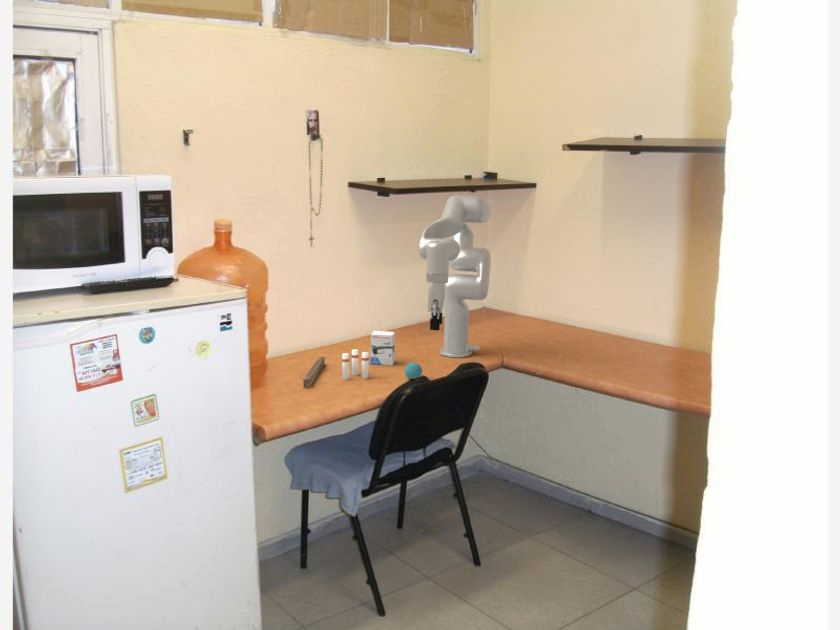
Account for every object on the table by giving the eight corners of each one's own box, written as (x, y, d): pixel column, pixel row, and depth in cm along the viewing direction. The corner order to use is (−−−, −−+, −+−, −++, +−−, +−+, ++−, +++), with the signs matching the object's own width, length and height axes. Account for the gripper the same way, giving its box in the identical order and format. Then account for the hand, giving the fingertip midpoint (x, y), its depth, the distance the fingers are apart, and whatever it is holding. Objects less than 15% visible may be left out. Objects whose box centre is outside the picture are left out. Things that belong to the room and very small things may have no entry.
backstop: (324, 364, 296) (324, 356, 295) (309, 387, 269) (309, 379, 268) (319, 364, 296) (319, 356, 295) (303, 387, 269) (303, 379, 268)
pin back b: (349, 378, 280) (349, 353, 278) (348, 380, 278) (348, 355, 276) (342, 377, 281) (342, 353, 279) (341, 379, 278) (341, 354, 276)
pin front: (369, 376, 283) (369, 352, 281) (368, 378, 280) (368, 354, 278) (362, 376, 283) (362, 351, 281) (361, 378, 280) (361, 353, 278)
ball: (422, 377, 283) (422, 360, 282) (421, 382, 277) (421, 365, 276) (405, 376, 283) (405, 360, 282) (404, 381, 278) (404, 365, 276)
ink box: (370, 364, 298) (370, 333, 295) (372, 360, 303) (372, 330, 300) (392, 365, 297) (393, 334, 294) (394, 362, 301) (395, 331, 299)
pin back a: (359, 373, 286) (359, 349, 284) (358, 375, 283) (358, 351, 281) (352, 373, 286) (352, 349, 284) (351, 375, 283) (351, 351, 281)
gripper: (429, 273, 281) (427, 321, 285) (423, 281, 264) (422, 332, 268) (450, 274, 280) (448, 322, 284) (446, 282, 263) (444, 333, 267)
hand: (436, 326), depth 276 cm, fingers open, 9 cm apart
